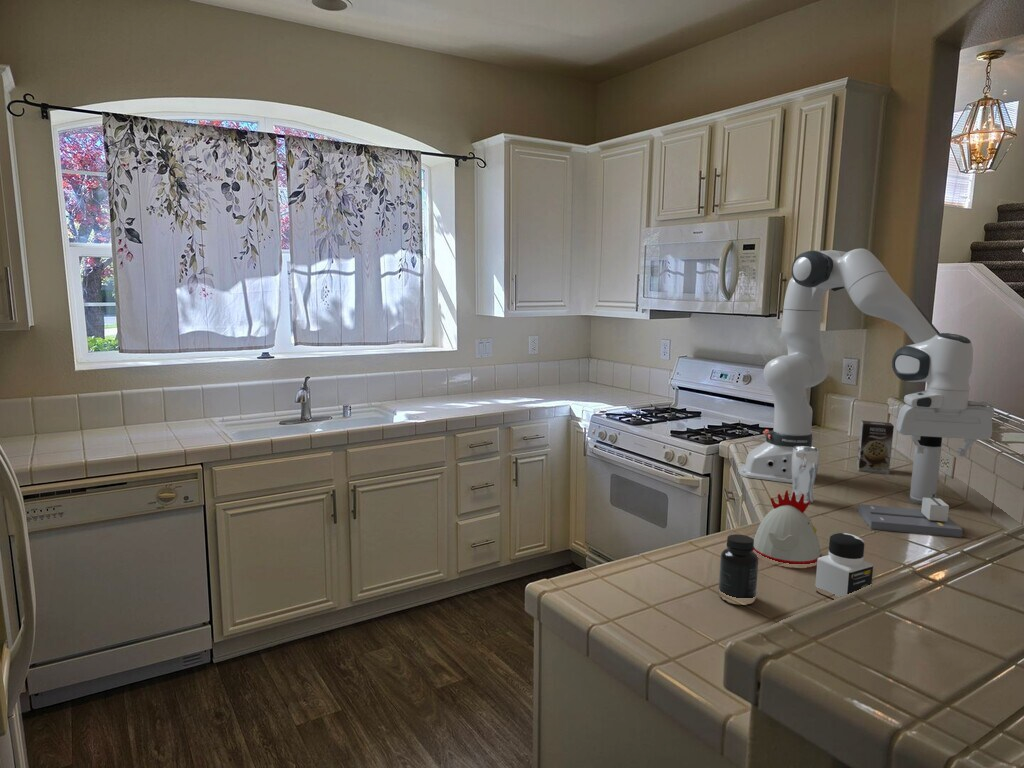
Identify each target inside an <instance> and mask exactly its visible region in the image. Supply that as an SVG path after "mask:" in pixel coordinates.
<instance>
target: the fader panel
mask: <svg viewBox="0 0 1024 768" xmlns="http://www.w3.org/2000/svg"><path fill="white" fill-rule="evenodd" d="M921 509H922V508H921ZM921 509H920V508H910V507H909V508H908V507H896V506H886V505H885V506H884V505H873V504H863V503H861V504H860V503H858V504H857V511H856V512H857V513H858V512H859V513H858V514H859V516H860V517H861V516H862V517H861V519H862V520H863V521H864V520H865V521H866V522H865V521H864V522H865V524H866V525H867V524H868V525H869V526H868V525H867V526H868V527H869V529H870V528H871V529H870V530H876V529H877V530H879V531H888V532H899V533H911V534H919V535H920V534H921V535H932V536H933V535H934V536H943V537H953V538H954V537H955V538H963V528H962V527H960V526H959V525H958V524H957V523H956V522H955V521H953V520H952V518H950V517H949V516H948V520H947V522H946V521H934V520H929V519H928V518H927V517H926V516H924V515H923V514H922V513H921Z"/></svg>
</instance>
